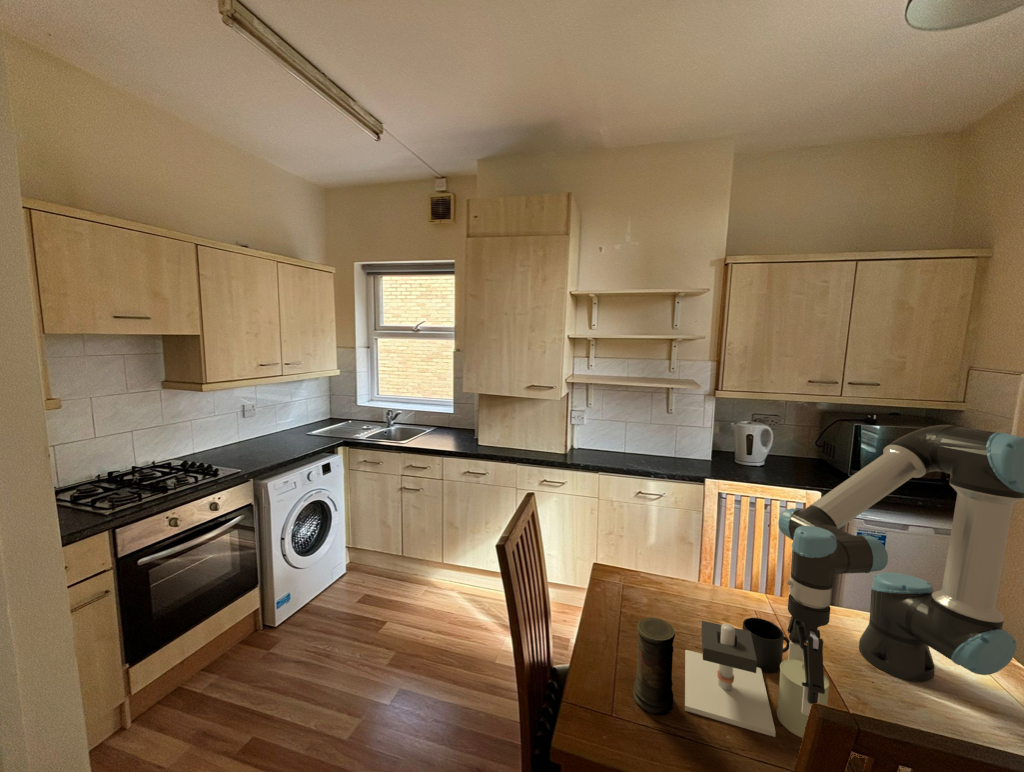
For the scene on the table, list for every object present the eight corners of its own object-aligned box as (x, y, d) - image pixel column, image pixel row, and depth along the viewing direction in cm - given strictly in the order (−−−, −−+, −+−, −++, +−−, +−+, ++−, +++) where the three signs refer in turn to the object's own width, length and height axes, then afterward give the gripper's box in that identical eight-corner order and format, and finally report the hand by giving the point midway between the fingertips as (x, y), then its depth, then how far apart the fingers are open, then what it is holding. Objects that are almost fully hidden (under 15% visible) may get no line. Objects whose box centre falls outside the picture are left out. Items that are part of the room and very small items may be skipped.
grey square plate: (749, 642, 107) (750, 631, 107) (756, 673, 97) (756, 660, 97) (701, 631, 112) (701, 620, 111) (702, 659, 101) (703, 647, 101)
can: (824, 717, 98) (828, 667, 97) (827, 748, 90) (831, 694, 89) (777, 699, 103) (780, 651, 102) (776, 727, 95) (779, 676, 94)
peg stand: (760, 672, 111) (764, 612, 110) (775, 737, 93) (779, 666, 91) (685, 653, 118) (687, 597, 116) (684, 710, 99) (687, 644, 98)
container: (629, 684, 107) (631, 615, 106) (666, 685, 107) (668, 616, 105) (639, 715, 98) (641, 640, 97) (679, 716, 98) (682, 641, 96)
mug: (799, 674, 111) (802, 641, 110) (752, 672, 111) (753, 639, 110) (778, 649, 120) (780, 618, 119) (734, 647, 120) (736, 616, 120)
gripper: (778, 569, 107) (771, 650, 109) (803, 628, 84) (794, 730, 86) (814, 575, 104) (807, 658, 106) (850, 639, 81) (840, 744, 83)
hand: (801, 691), depth 96 cm, fingers open, 13 cm apart
